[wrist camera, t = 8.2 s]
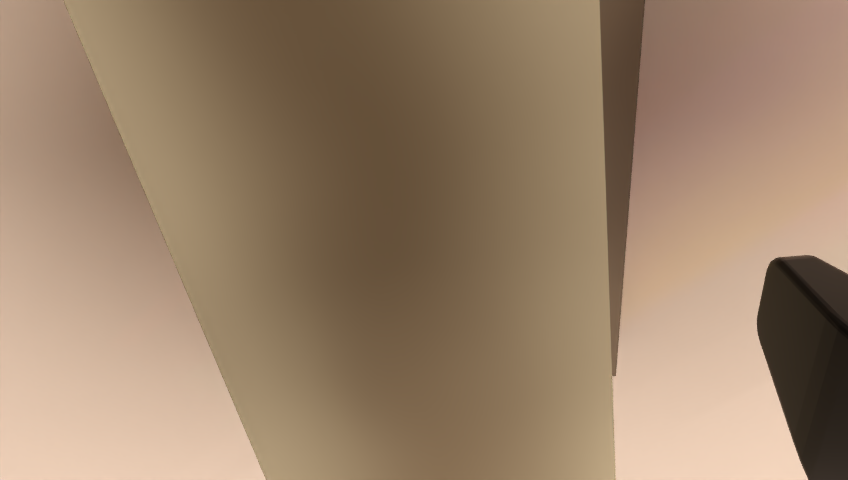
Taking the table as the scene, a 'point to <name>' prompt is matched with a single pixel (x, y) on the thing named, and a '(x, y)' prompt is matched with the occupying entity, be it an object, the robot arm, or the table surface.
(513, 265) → the beige wooden block
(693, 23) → the table surface
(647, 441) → the table surface
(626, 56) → the peg stand
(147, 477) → the table surface
